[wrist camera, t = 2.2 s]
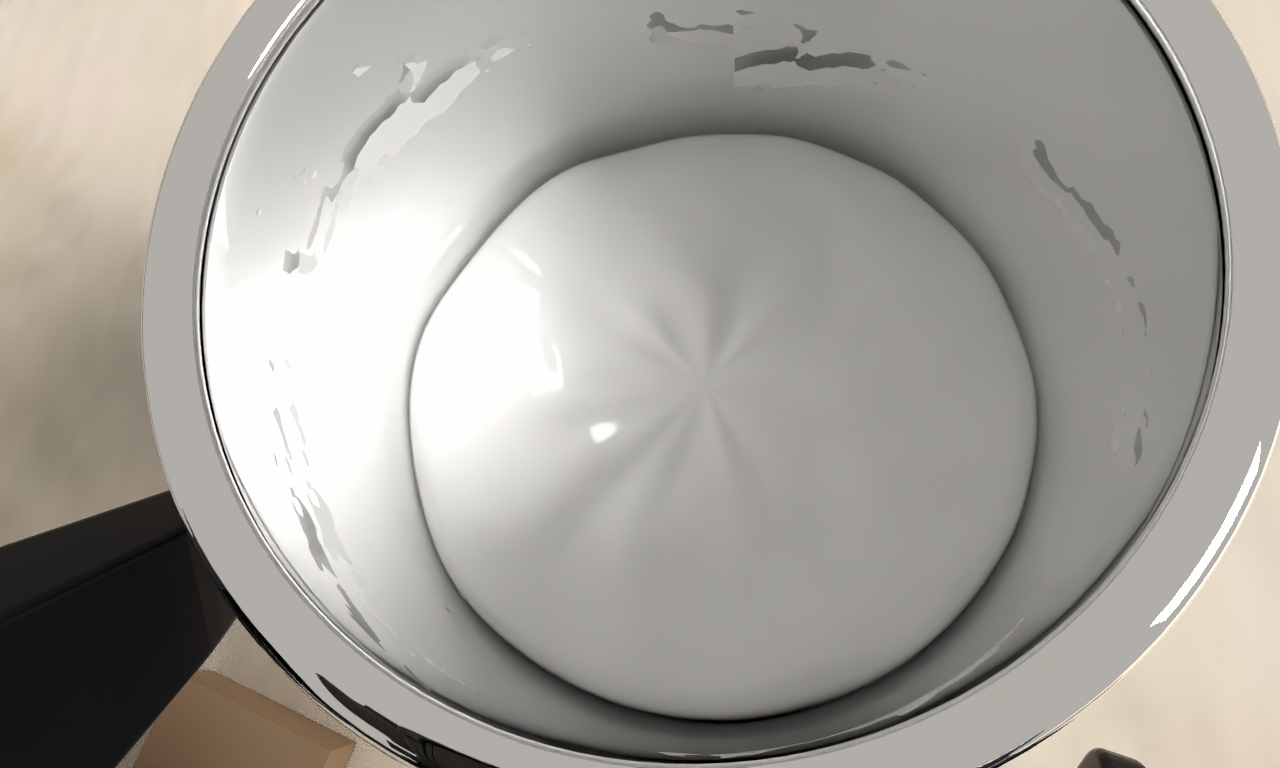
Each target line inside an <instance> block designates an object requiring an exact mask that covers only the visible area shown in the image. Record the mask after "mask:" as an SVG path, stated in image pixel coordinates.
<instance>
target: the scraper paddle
mask: <svg viewBox="0 0 1280 768" xmlns="http://www.w3.org/2000/svg"><path fill="white" fill-rule="evenodd" d="M355 744H356V742H354V741H352V740H350V739H348V738H346V737H344V736H342V735H340V734H338V733H336V732H334V731H332V730H330V729H328V728H326V727H324V726H322V725H320V724H318V723H316V722H314V721H312V720H310V719H308V718H306V717H304V716H302V715H300V714H298V713H296V712H294V711H292V710H290V709H288V708H286V707H284V706H282V705H280V704H278V703H276V702H274V701H272V700H270V699H268V698H266V697H264V696H262V695H260V694H258V693H256V692H254V691H252V690H250V689H248V688H246V687H244V686H242V685H240V684H238V683H236V682H234V681H232V680H230V679H228V678H226V677H223V676H221V675H219V674H217V673H215V672H213V671H206V672H197V673H195V674H194V675H193V676H192V677H191V679H190V680H189V681H188V682H187V683H186V685H185V686H184V687H183V688H182V689H181V690H180V692H179V693H178V694H177V695H176V696H175V698H174V699H173V700H172V701H171V702H170V704H169V705H168V706H167V707H166V708H165V709H164V711H163V712H162V713H161V714H160V715H159V717H158V718H157V719H156V721H155V723H154V725H153V727H152V729H151V731H150V734H149V736H148V738H147V740H146V742H145V744H144V746H143V748H142V750H141V752H140V754H139V756H138V758H137V760H136V762H135V764H134V766H133V768H345V767H346V765H347V762H348V760H349V758H350V756H351V753H352V751H353V749H354V747H355Z"/></svg>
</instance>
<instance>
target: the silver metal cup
mask: <svg viewBox="0 0 1280 768" xmlns="http://www.w3.org/2000/svg"><path fill="white" fill-rule="evenodd" d="M141 348H142V361H143V372H144V381H145V388H146V396H147V403H148V409H149V414H150V420H151V426H152V430H153V434H154V438H155V442H156V446H157V451H158V454H159V458H160V461H161V464H162V468H163V471H164V475H165V478H166V481H167V484H168V486H169V489H170V492H171V495H172V498H173V501H174V503H175V506H176V508H177V511H178V513H179V515H180V518H181V520H182V523H183V525H184V527H185V529H186V531H187V533H188V535H189V538H190V540H191V542H192V544H193V546H194V548H195V550H196V552H197V554H198V555H199V557H200V559H201V561H202V563H203V565H204V566H205V568H206V570H207V572H208V574H209V575H210V577H211V579H212V580H213V582H214V583H215V585H216V587H217V588H218V590H219V592H220V593H221V595H222V596H223V598H224V599H225V601H226V602H227V604H228V605H229V607H230V608H231V610H232V611H233V612H234V614H235V615H236V617H237V618H238V620H239V621H240V622H241V623H242V625H243V626H244V627H245V628H246V630H247V631H248V632H249V633H250V635H251V636H252V637H253V638H254V640H255V641H256V642H257V643H258V645H259V646H260V647H261V648H262V649H263V650H264V652H265V653H266V654H267V655H268V656H269V657H270V659H271V660H272V661H273V662H274V663H275V664H276V665H277V666H278V667H279V668H280V669H281V670H282V671H283V672H284V673H285V674H286V675H287V676H288V677H289V678H290V679H291V680H292V681H293V682H294V683H295V684H296V685H297V686H298V687H299V688H300V689H301V690H302V691H303V692H304V693H305V694H307V695H308V696H309V697H310V698H311V699H312V700H313V701H314V702H315V703H316V704H317V705H319V706H320V707H321V708H322V709H324V710H325V711H326V712H327V713H329V714H330V715H331V716H332V717H333V718H335V719H336V720H337V721H338V722H340V723H341V724H342V725H344V726H345V727H347V728H348V729H349V730H351V731H352V732H353V733H355V734H356V735H358V736H359V737H360V738H362V739H363V740H365V741H366V742H368V743H369V744H371V745H372V746H374V747H375V748H377V749H378V750H380V751H381V752H383V753H384V754H386V755H388V756H389V757H391V758H393V759H394V760H396V761H398V762H400V763H401V764H403V765H405V766H406V767H408V768H998V767H1000V766H1001V765H1003V764H1005V763H1007V762H1009V761H1010V760H1012V759H1014V758H1016V757H1017V756H1019V755H1021V754H1023V753H1024V752H1026V751H1028V750H1030V749H1031V748H1033V747H1034V746H1036V745H1037V744H1039V743H1040V742H1042V741H1043V740H1045V739H1046V738H1048V737H1049V736H1051V735H1053V734H1054V733H1056V732H1057V731H1059V730H1060V729H1061V728H1063V727H1064V726H1065V725H1067V724H1068V723H1069V722H1071V721H1072V720H1073V719H1075V718H1076V717H1078V716H1079V715H1080V714H1082V713H1083V712H1084V711H1086V710H1087V709H1088V708H1089V707H1091V706H1092V705H1093V704H1094V703H1095V702H1097V701H1098V700H1099V699H1100V698H1101V697H1103V696H1104V695H1105V694H1106V693H1107V692H1109V691H1110V690H1111V689H1112V688H1113V687H1114V686H1116V685H1117V684H1118V683H1119V682H1120V681H1121V680H1122V679H1123V678H1124V677H1125V676H1126V675H1128V674H1129V673H1130V672H1131V671H1132V670H1133V669H1134V668H1135V667H1136V666H1137V665H1138V664H1139V663H1140V662H1141V661H1142V660H1143V659H1144V658H1145V657H1146V656H1147V655H1148V654H1149V653H1150V652H1151V651H1152V650H1153V649H1154V648H1155V647H1156V646H1157V645H1158V644H1159V643H1160V642H1161V640H1162V639H1163V638H1164V637H1165V636H1166V634H1167V633H1168V632H1169V631H1170V630H1171V629H1172V627H1173V626H1174V625H1175V624H1176V623H1177V621H1178V620H1179V619H1180V618H1181V617H1182V615H1183V614H1184V613H1185V612H1186V610H1187V609H1188V608H1189V606H1190V605H1191V604H1192V603H1193V601H1194V600H1195V599H1196V597H1197V596H1198V595H1199V594H1200V592H1201V591H1202V590H1203V588H1204V587H1205V585H1206V584H1207V582H1208V581H1209V579H1210V578H1211V576H1212V574H1213V573H1214V571H1215V570H1216V568H1217V567H1218V565H1219V564H1220V562H1221V561H1222V559H1223V557H1224V556H1225V554H1226V552H1227V551H1228V549H1229V547H1230V546H1231V544H1232V542H1233V541H1234V539H1235V537H1236V536H1237V534H1238V532H1239V530H1240V528H1241V526H1242V524H1243V522H1244V520H1245V518H1246V516H1247V514H1248V512H1249V510H1250V508H1251V506H1252V504H1253V502H1254V500H1255V497H1256V495H1257V493H1258V490H1259V488H1260V486H1261V484H1262V481H1263V479H1264V477H1265V474H1266V471H1267V469H1268V466H1269V463H1270V461H1271V458H1272V455H1273V452H1274V450H1275V447H1276V444H1277V440H1278V437H1279V434H1280V136H1279V133H1278V130H1277V127H1276V124H1275V121H1274V119H1273V116H1272V113H1271V110H1270V108H1269V105H1268V102H1267V100H1266V97H1265V95H1264V93H1263V90H1262V88H1261V85H1260V83H1259V80H1258V78H1257V76H1256V74H1255V72H1254V70H1253V68H1252V66H1251V64H1250V62H1249V60H1248V58H1247V56H1246V54H1245V52H1244V50H1243V48H1242V47H1241V45H1240V43H1239V41H1238V40H1237V38H1236V36H1235V34H1234V33H1233V31H1232V29H1231V28H1230V26H1229V24H1228V23H1227V21H1226V20H1225V18H1224V16H1223V15H1222V13H1221V12H1220V10H1219V9H1218V7H1217V6H1216V4H1215V3H1214V1H1213V0H255V1H254V2H253V3H252V5H251V6H250V7H249V9H248V10H247V11H246V12H245V14H244V15H243V16H242V18H241V19H240V21H239V22H238V24H237V25H236V27H235V28H234V30H233V31H232V33H231V34H230V36H229V37H228V39H227V40H226V42H225V43H224V45H223V47H222V48H221V50H220V51H219V53H218V54H217V56H216V58H215V60H214V61H213V63H212V65H211V66H210V68H209V70H208V72H207V73H206V75H205V77H204V79H203V81H202V83H201V85H200V87H199V88H198V90H197V92H196V94H195V96H194V98H193V101H192V103H191V105H190V107H189V109H188V111H187V113H186V116H185V118H184V120H183V123H182V125H181V127H180V130H179V132H178V135H177V137H176V140H175V143H174V145H173V148H172V151H171V154H170V156H169V159H168V162H167V165H166V169H165V172H164V175H163V178H162V181H161V185H160V188H159V192H158V196H157V199H156V203H155V207H154V212H153V216H152V221H151V226H150V231H149V237H148V243H147V249H146V257H145V265H144V273H143V285H142V301H141Z"/></svg>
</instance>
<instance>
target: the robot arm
mask: <svg viewBox="0 0 1280 768" xmlns="http://www.w3.org/2000/svg"><path fill="white" fill-rule="evenodd" d="M236 618H237V617H236V615H235V614H234V612H233V611H232V610H231V608H230V607H229V605H228V604H227V602H226V601H225V599H224V598H223V596H222V595H221V593H220V592H219V590H218V588H217V587H216V585H215V583H214V582H213V580H212V579H211V577H210V575H209V574H208V572H207V570H206V568H205V566H204V565H203V563H202V561H201V559H200V557H199V555H198V554H197V552H196V550H195V548H194V546H193V544H192V542H191V540H190V538H189V535H188V533H187V531H186V529H185V527H184V525H183V523H182V520H181V518H180V515H179V513H178V511H177V508H176V506H175V503H174V501H173V498H172V495H171V492H170V490H169V491H166V492H163V493H160V494H157V495H154V496H151V497H148V498H145V499H142V500H139V501H136V502H133V503H130V504H127V505H124V506H121V507H118V508H115V509H112V510H109V511H106V512H103V513H100V514H97V515H94V516H91V517H88V518H85V519H82V520H79V521H76V522H73V523H70V524H67V525H64V526H61V527H58V528H55V529H52V530H49V531H46V532H43V533H41V534H38V535H35V536H32V537H29V538H26V539H23V540H20V541H17V542H14V543H11V544H8V545H5V546H2V547H0V768H116V766H117V765H118V764H119V763H120V762H121V760H122V759H123V758H124V757H125V756H126V754H127V753H128V752H129V751H130V750H131V749H132V747H133V746H134V745H135V744H136V743H137V741H138V740H139V739H140V738H141V737H142V736H143V734H144V733H145V732H146V731H147V730H148V728H149V727H150V726H151V725H152V724H153V722H154V721H155V720H156V719H157V718H158V717H159V715H160V714H161V713H162V712H163V711H164V709H165V708H166V707H167V706H168V705H169V704H170V702H171V701H172V700H173V699H174V698H175V696H176V695H177V694H178V693H179V692H180V690H181V689H182V688H183V687H184V686H185V685H186V683H187V682H188V681H189V680H190V679H191V677H192V676H193V675H194V674H195V673H196V672H197V670H198V669H199V668H200V667H201V665H202V664H203V663H204V662H205V660H206V659H207V658H208V657H209V655H210V654H211V653H212V652H213V650H214V649H215V648H216V646H217V645H218V644H219V642H220V641H221V639H222V638H223V637H224V635H225V634H226V633H227V631H228V630H229V628H230V627H231V625H232V624H233V622H234V621H235V619H236ZM1078 768H1145V767H1144V766H1143V765H1142V764H1141V763H1140V762H1138V761H1137V760H1135V759H1132V758H1129V757H1126V756H1123V755H1120V754H1117V753H1114V752H1111V751H1108V750H1105V749H1102V748H1095V749H1093V750H1091V751H1089V753H1088V754H1087V755H1086V756H1085V757H1084V759H1083V760H1082V762H1081V763H1080V765H1079V766H1078Z"/></svg>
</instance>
